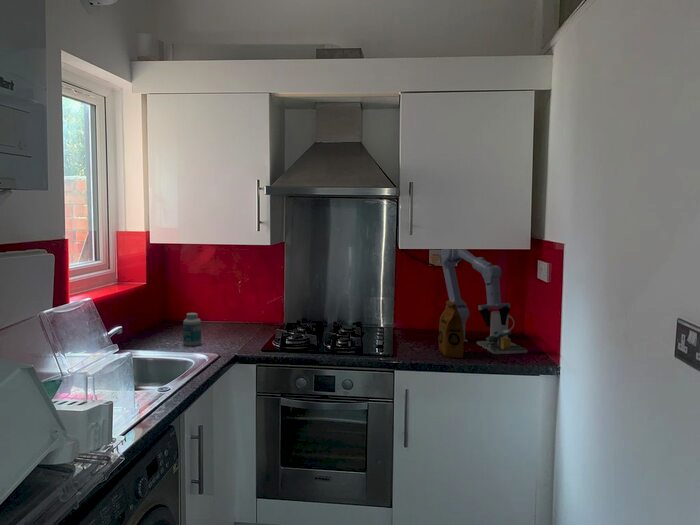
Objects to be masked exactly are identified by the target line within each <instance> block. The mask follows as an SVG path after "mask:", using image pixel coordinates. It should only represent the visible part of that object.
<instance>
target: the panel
mask: <svg viewBox="0 0 700 525" xmlns="http://www.w3.org/2000/svg"><path fill="white" fill-rule="evenodd" d="M497 333H498V331H496V332H494V334H497ZM501 337H503V334H499V339H497V342H495V343H493V342H489V341H487V340H477V341H476V345H478V346H480V347H481V346H482V347H481V348H484V349H485V350H486V349H487V351H488V352H490V353H492V354H493V355H501V354H502V355H505V354H507V355H508V354H528V350H527V348H526V347H522V346H521V345H520V344H516V343H514V342H512V341H511V345H510V348H501Z"/></svg>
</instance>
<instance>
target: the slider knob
mask: <svg viewBox="0 0 700 525" xmlns="http://www.w3.org/2000/svg"><path fill="white" fill-rule="evenodd" d="M511 340H512V339H511V338H510V337H509V336H508V337H501V348H510V345H511V342H512V341H511Z"/></svg>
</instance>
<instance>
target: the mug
mask: <svg viewBox="0 0 700 525" xmlns="http://www.w3.org/2000/svg"><path fill="white" fill-rule="evenodd" d="M509 318H510V319H511V320H512V326H511V327H510V328H509ZM514 327H515V320H514V318H513V316H512V315H510V312H509V313H508V316H507V319H506V325H501V318H500V313H499V310H497V311H496V310H495V311H491V313H490V327H489V328H490V331H489V336H492V335H494V332H496V331H498V333H499V332H502V331H504V330H509V331H512V330H513V329H514ZM504 337H508V338H509V335H506V336H504Z"/></svg>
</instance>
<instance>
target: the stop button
mask: <svg viewBox="0 0 700 525" xmlns="http://www.w3.org/2000/svg"><path fill="white" fill-rule="evenodd" d="M488 337H489V342H493V343H495V342H497V337H496V336H490V335H489V336H488Z"/></svg>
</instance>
